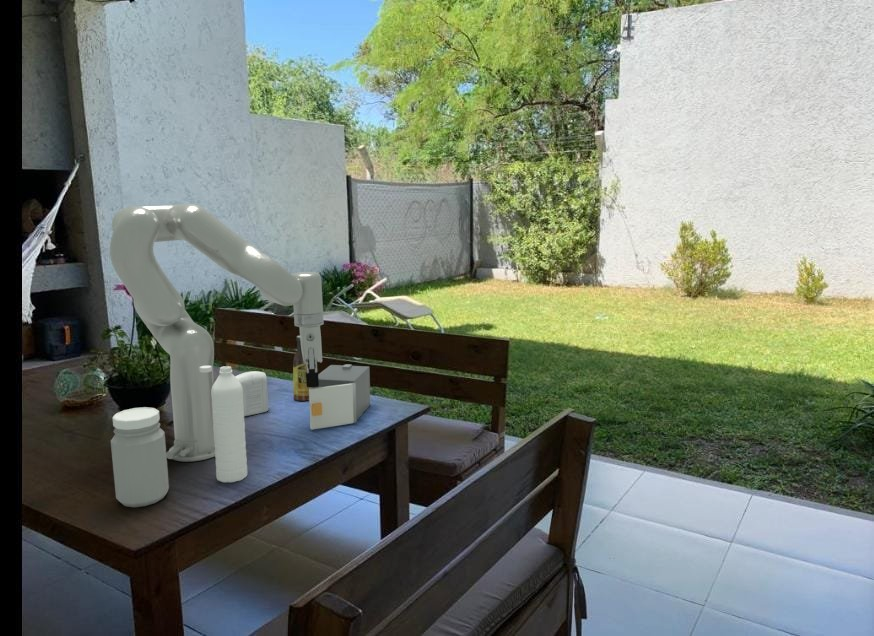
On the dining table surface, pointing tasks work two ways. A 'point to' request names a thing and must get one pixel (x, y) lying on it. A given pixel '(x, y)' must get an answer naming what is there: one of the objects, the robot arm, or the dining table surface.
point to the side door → (332, 405)
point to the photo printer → (254, 392)
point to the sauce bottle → (300, 375)
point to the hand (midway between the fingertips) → (312, 386)
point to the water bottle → (228, 426)
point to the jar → (139, 457)
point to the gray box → (347, 376)
